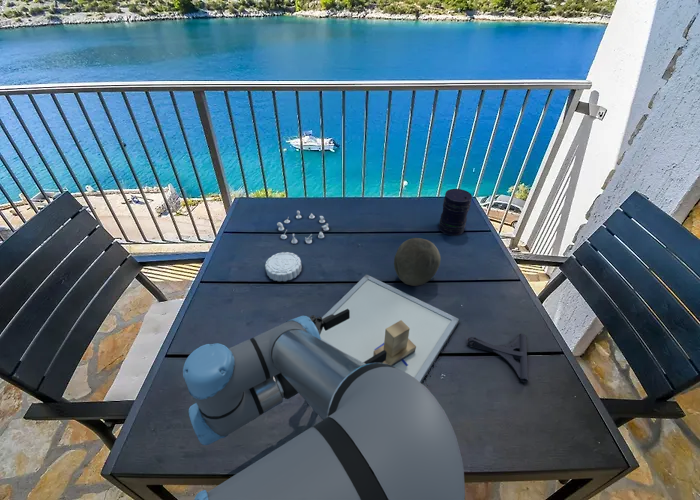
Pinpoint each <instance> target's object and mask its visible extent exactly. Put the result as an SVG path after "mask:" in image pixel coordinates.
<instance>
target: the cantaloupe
mask: <svg viewBox="0 0 700 500" xmlns="http://www.w3.org/2000/svg"><path fill="white" fill-rule="evenodd" d="M441 259H442V258H441V253H440V251H439V249H438V248H437V246H436V245H435V243H433V242H432V241H431V240H429V239H425V238H422V237H412V238H409V239H407V240H404V241H403V242H402V243H400V244H399V246H398V248H397V250H396V252H395V255H394V259H393V267H394V270H395V274H396V275H397V277H398V279H399V280H400V281H401V282H402V283H403V284H405V285H407V286H411V287H417V286H418V287H419V286H422V285H424V284H426V283H428V282H429V281H431V280H432V279H433V277H434V276H435V275H436V274H437V272H438V270H439V268H440V265H441V261H442V260H441Z"/></svg>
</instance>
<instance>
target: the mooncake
mask: <svg viewBox="0 0 700 500" xmlns="http://www.w3.org/2000/svg"><path fill="white" fill-rule="evenodd" d="M264 268H265V273H266V276H267V277H269V279H271V280H273V281H275V282H276V281H277V282H287V281H292V280H293V279H295V278H297V276H299V275H300V274H301V272H302V260H301V257H300V256H299V255H298V254H295V253H294V252H289V251H286V252H285V251H281V252H278V253H275V254H273V255H271V257H269V258H268V259H267V260H266V261H265V265H264Z"/></svg>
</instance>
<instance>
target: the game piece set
mask: <svg viewBox="0 0 700 500" xmlns="http://www.w3.org/2000/svg"><path fill="white" fill-rule="evenodd" d="M296 214H297V215H296V216H295V218H296V219H297V220H299V219H302V215H301V212H300V210H296ZM308 218H309V219H312V220H313V219H315V218H316V216H315V215H314V214H313V213H312V212H311V213H310V215H309V216H308ZM319 218H320V219H319V221H318V222H319V224H324V223H325V222H326V220H325V217H324V216H323V215H319ZM290 222H291V220H289V216H287V219H285V220H284V221H283V222H280V221H279V222H277V223H276V225H277V227H278V231H279V232H282V231H284V230H285V231H284V233H283V234H281V235H280V239H281V240H285V239H287V238H288V236H287V235H286V233H287V231H288V229H285V227H284V225H283V223H284V224H290ZM321 228H322V230H323V231H324V232H325V231H326V232H327V231H329V230H330V227H329V223H325V224H324V225H322V226H321ZM291 236H292V238H291V242H290V243H291V244H294V245H295V244H297V243H298V239H297V238H296V237H295V233H292V235H291ZM312 236H313V234H312V233H311V234H310V235H309V236H308V237H305V236H304V241H305V243H306V244H308V245H309V244H312V243H313V240H312V239H313V237H312ZM317 238H318V239H324V238H325V235H324V233H323V232H322V231H319V233H318V236H317Z"/></svg>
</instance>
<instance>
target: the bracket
mask: <svg viewBox="0 0 700 500" xmlns="http://www.w3.org/2000/svg"><path fill="white" fill-rule="evenodd" d="M467 344H468V346H470V347H471V348H475V349H479V350H482V351H486V352H490V353H493V354H497V355H498V356H499V357H501V358H502V359H504V360H505V361H506V362H507V363H508V364H509V365H510V366H511V367H512V369H513V370H514V372H515V373H516V375H517V378H518V379H520V382H521V383H529V372H528V371H529V370H528V350H527V349H528V348H527V335H526V334H525V333H520V334H519V335H518V336H517V337H516V338H515V339H514V340H513V341H511V342H510V343H508V344H502V345H498V344H492V343H489V342H488V341H487V342H486V341H484V340H482V339H480V338H477V337H476V336H470V337H468V339H467ZM518 350H519V351H518ZM516 360H519V362H518V361H516Z"/></svg>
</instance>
